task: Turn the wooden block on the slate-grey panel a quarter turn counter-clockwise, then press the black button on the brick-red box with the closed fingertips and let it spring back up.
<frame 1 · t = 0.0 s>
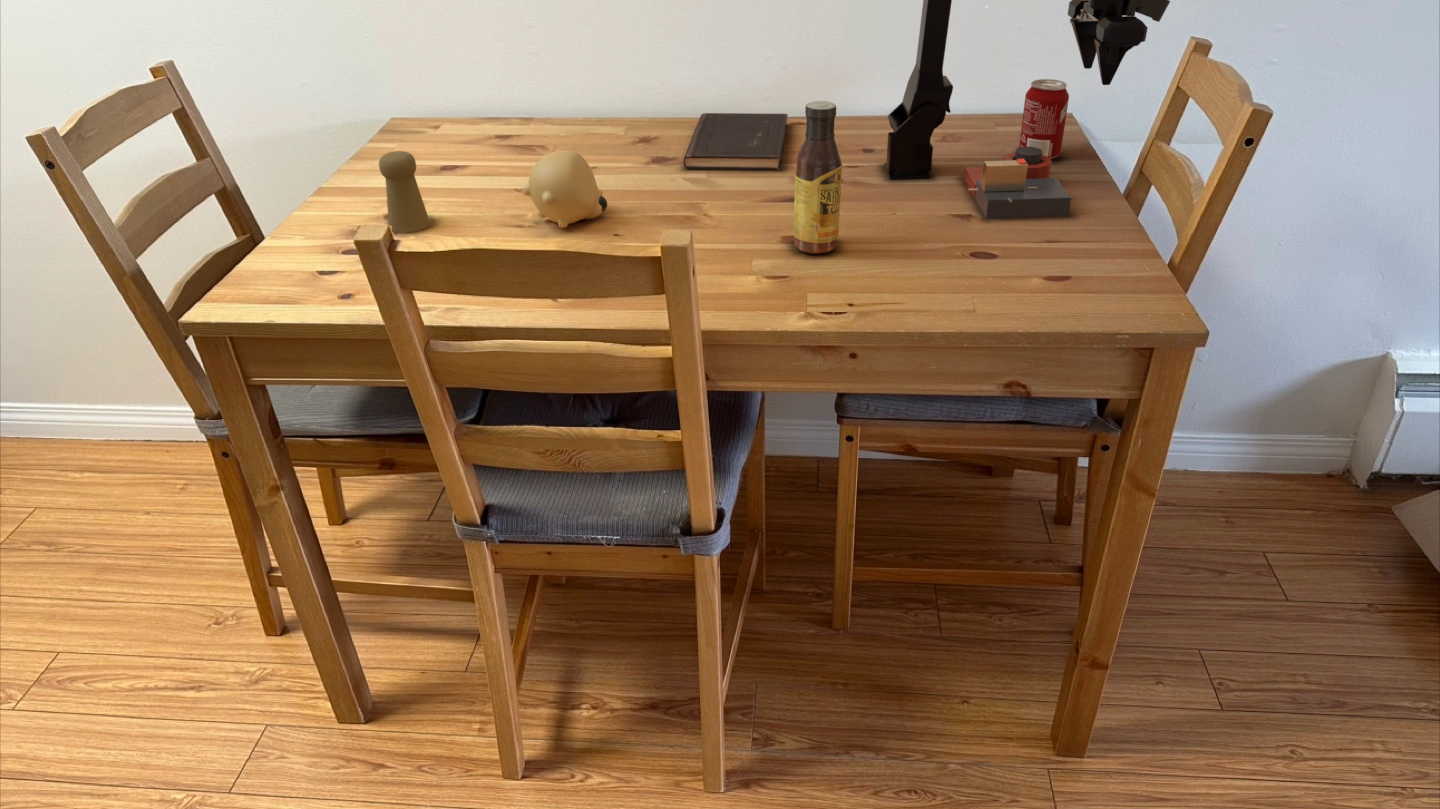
hand: (1096, 76, 163), 15 cm above the table, tool pointing down, fingers open, 9 cm apart
button box: (1006, 187, 165), on the table
wooden block: (1004, 175, 155), point 5 cm above the table, hinge at 0.0°
hardcover book: (738, 147, 185), on the table
toy pig: (569, 221, 159), on the table
soda can: (1038, 157, 177), on the table
dark grey panel: (1020, 207, 158), on the table
brown game pawn: (409, 226, 159), on the table
sauce bottle: (816, 247, 148), on the table
button: (1028, 156, 164), point 5 cm above the table, slide at 0.1 cm
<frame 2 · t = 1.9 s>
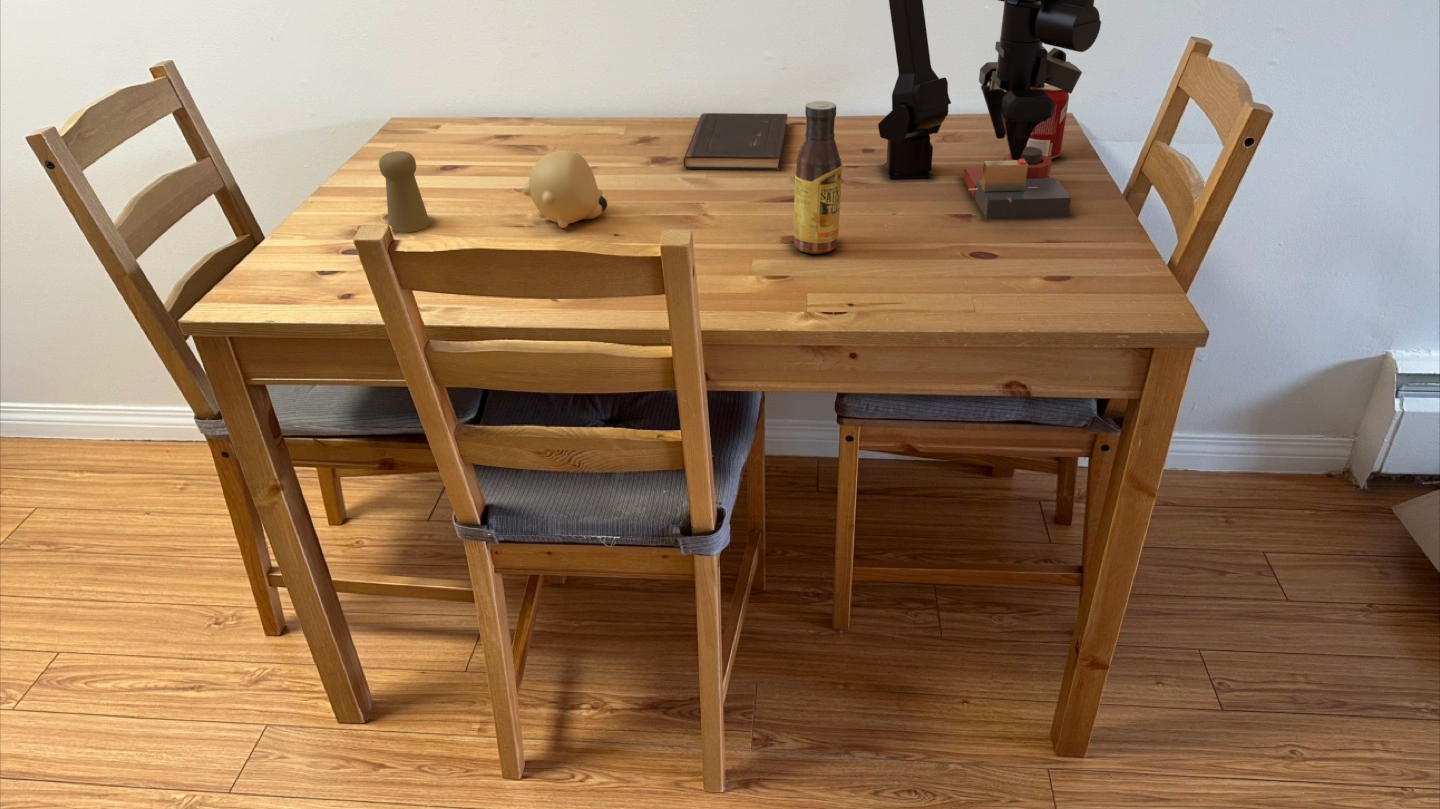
hand: (1007, 148, 153), 9 cm above the table, tool pointing down, fingers open, 9 cm apart
nothing on the table moved.
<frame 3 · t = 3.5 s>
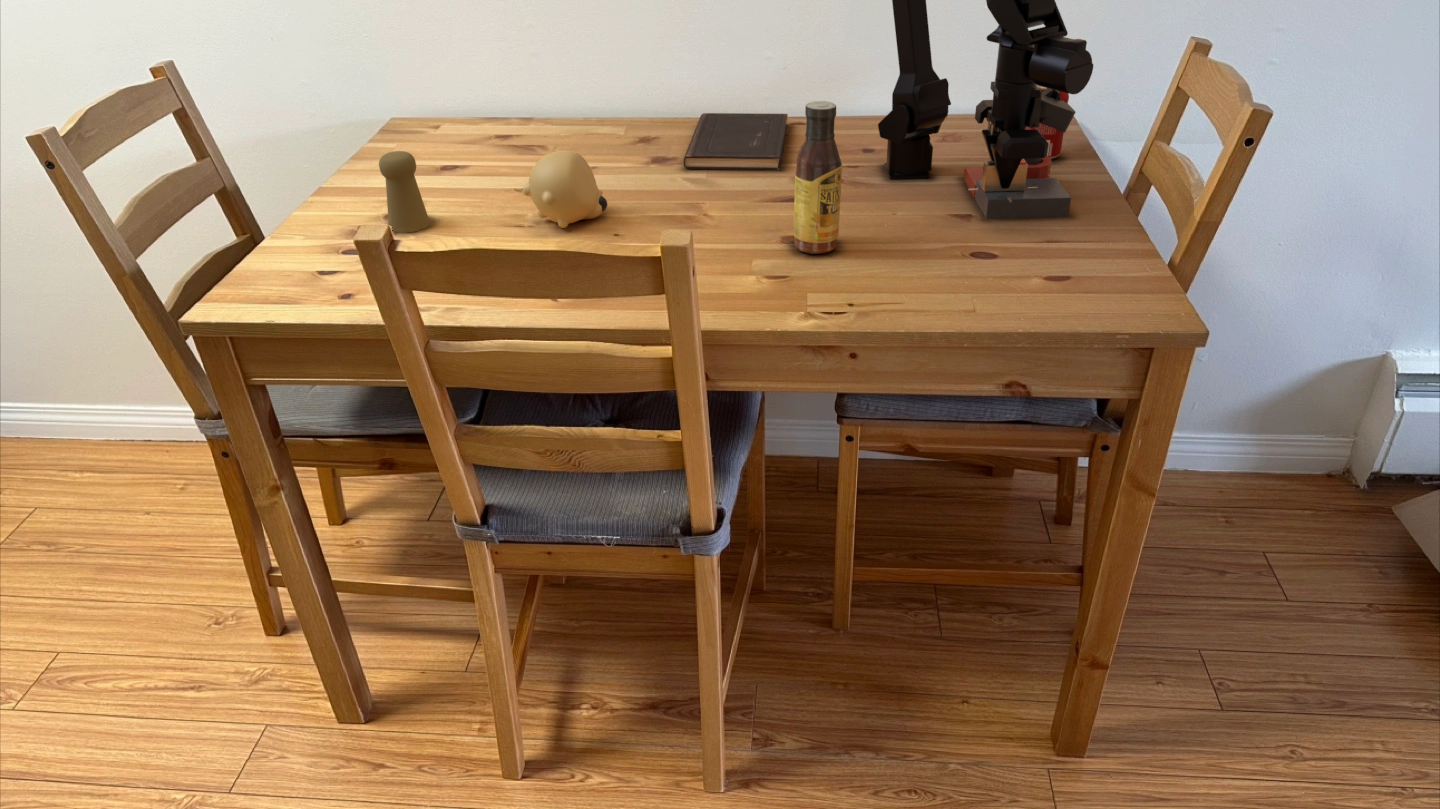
hand: (1003, 185, 156), 4 cm above the table, tool pointing down, fingers closed on wooden block, 2 cm apart
wooden block: (1004, 175, 155), point 5 cm above the table, hinge at 0.0°, touching gripper
everything else where it was.
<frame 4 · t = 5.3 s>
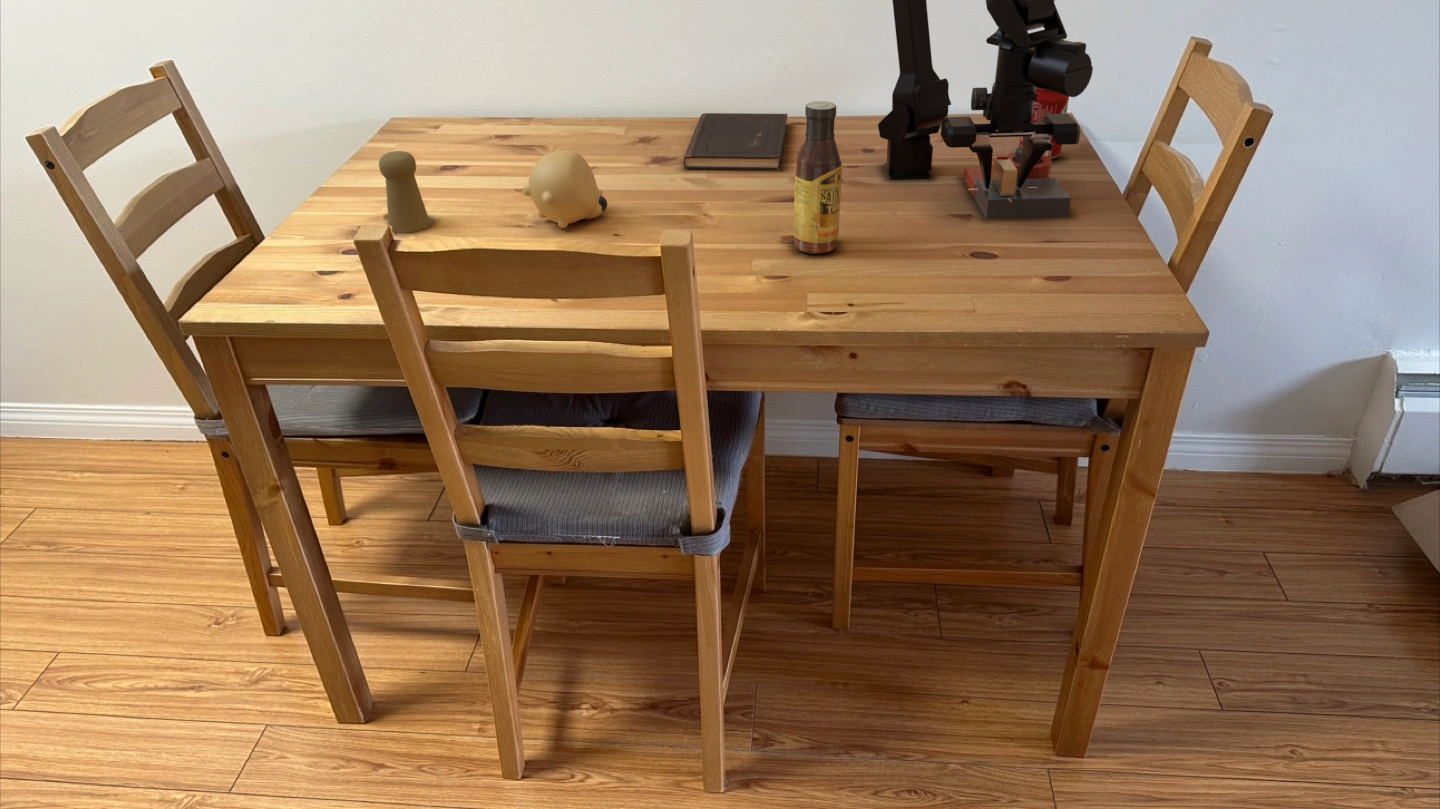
hand: (1002, 187, 156), 3 cm above the table, tool pointing down, fingers open, 4 cm apart
wooden block: (1004, 175, 155), point 5 cm above the table, hinge at 90.0°
everything else where it was.
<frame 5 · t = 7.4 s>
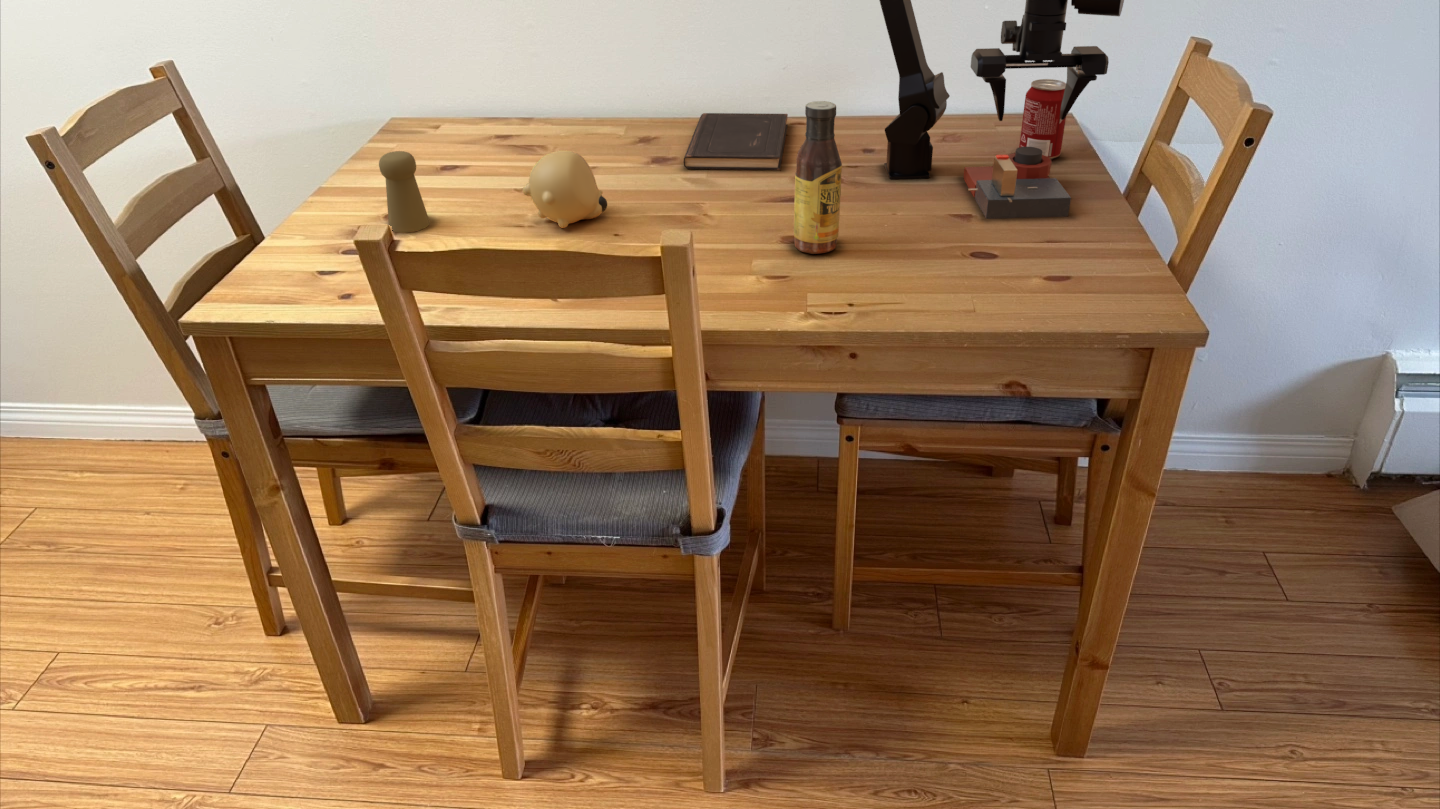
hand: (1030, 119, 159), 11 cm above the table, tool pointing down, fingers open, 9 cm apart
nothing on the table moved.
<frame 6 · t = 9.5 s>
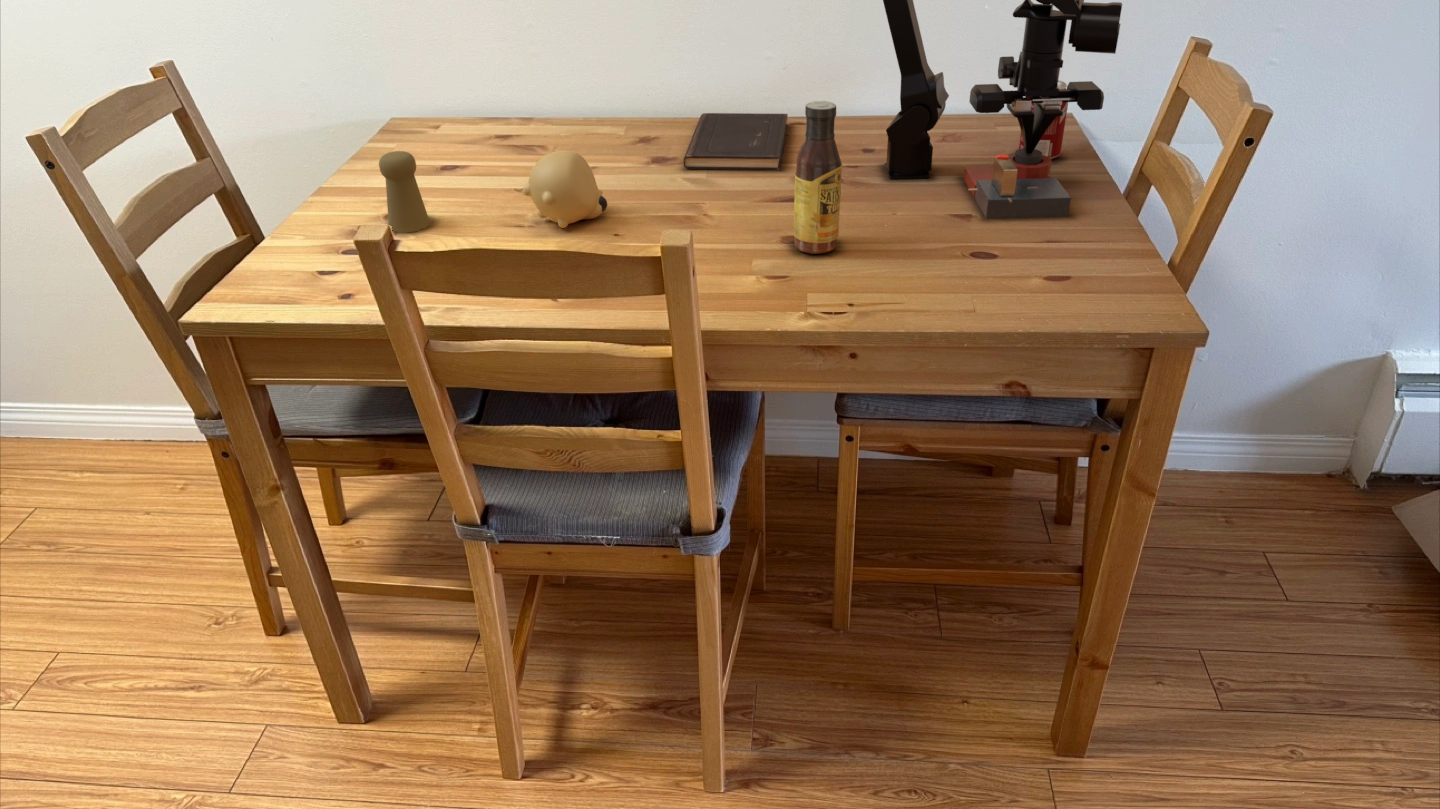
hand: (1028, 152, 163), 5 cm above the table, tool pointing down, fingers closed, pressing on button
button: (1028, 158, 164), point 4 cm above the table, slide at -0.1 cm, touching gripper
everything else where it was.
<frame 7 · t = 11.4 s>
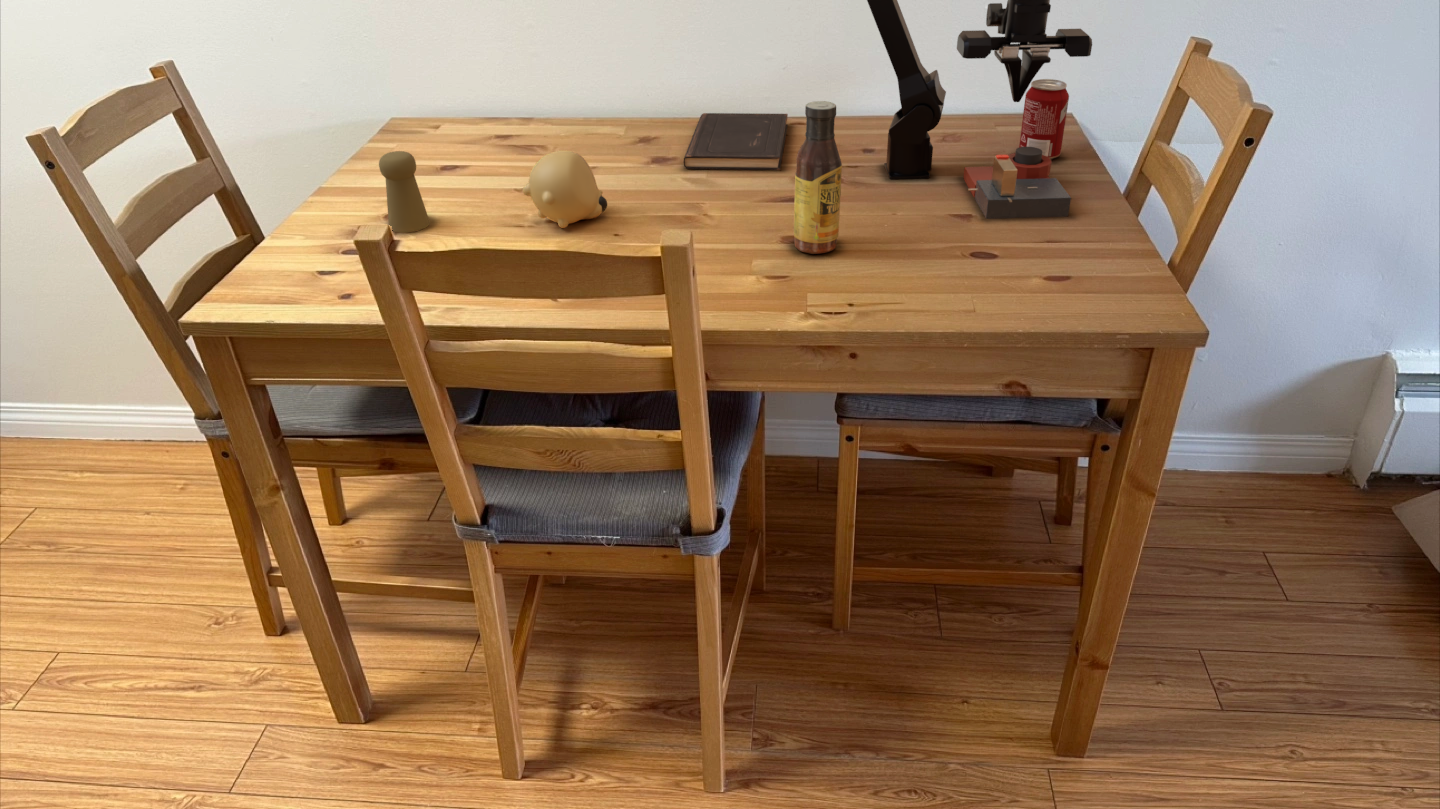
hand: (1016, 101, 161), 12 cm above the table, tool pointing down, fingers closed
button: (1028, 156, 164), point 5 cm above the table, slide at 0.1 cm
everything else where it was.
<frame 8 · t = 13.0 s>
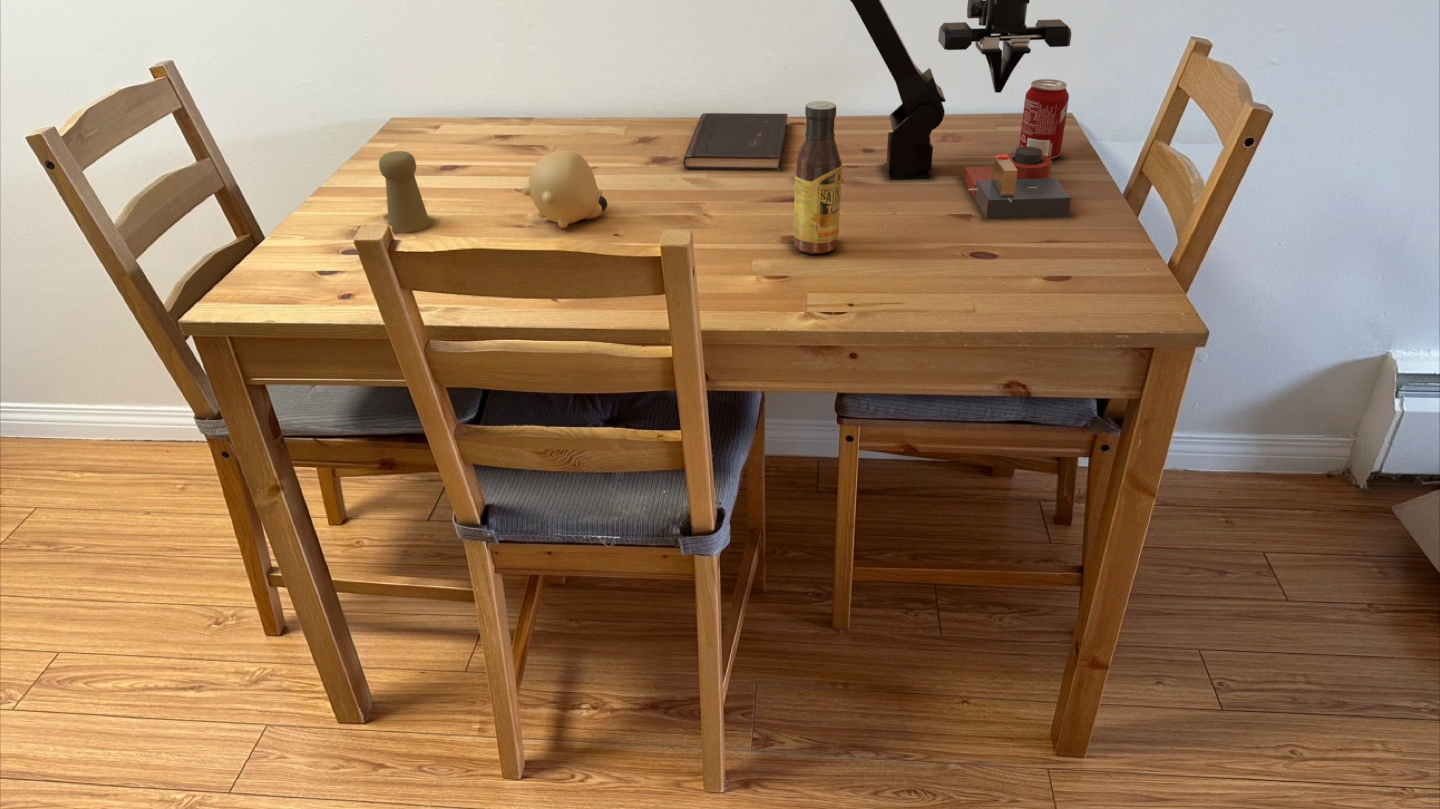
hand: (997, 91, 164), 13 cm above the table, tool pointing down, fingers closed
nothing on the table moved.
at the end: wooden block at +90° (first picture: +0°); button pushed in 1.2 cm at the most during the clip, back to where it started at the end; button slide at 0.1 cm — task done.
